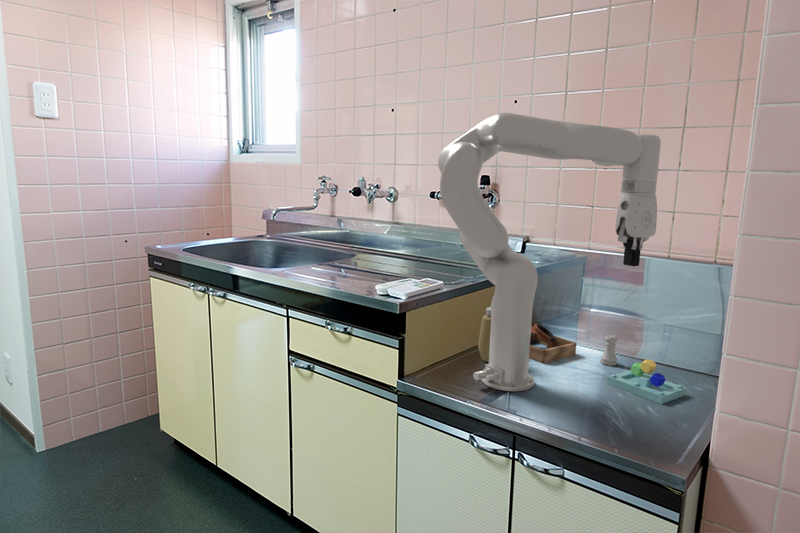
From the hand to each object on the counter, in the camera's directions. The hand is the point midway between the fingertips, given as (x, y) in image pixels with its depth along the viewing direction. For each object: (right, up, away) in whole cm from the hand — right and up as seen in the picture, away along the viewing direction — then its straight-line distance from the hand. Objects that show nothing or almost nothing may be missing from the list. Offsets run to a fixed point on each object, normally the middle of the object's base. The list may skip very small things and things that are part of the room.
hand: (631, 265), depth 130 cm
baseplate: (+3, -30, -1) cm, 30 cm away
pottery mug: (-17, -25, +28) cm, 41 cm away
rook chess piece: (+1, -27, +17) cm, 32 cm away
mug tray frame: (-16, -25, +26) cm, 39 cm away
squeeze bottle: (-31, -26, +17) cm, 44 cm away
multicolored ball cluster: (+3, -29, -1) cm, 29 cm away
